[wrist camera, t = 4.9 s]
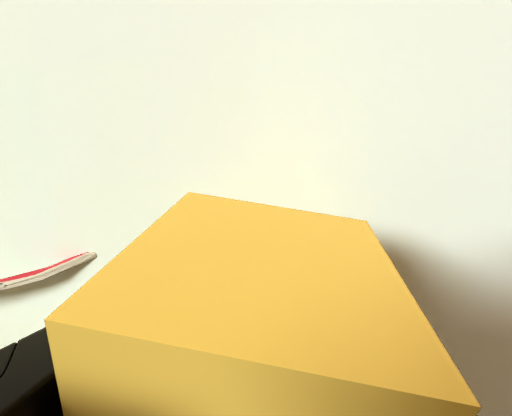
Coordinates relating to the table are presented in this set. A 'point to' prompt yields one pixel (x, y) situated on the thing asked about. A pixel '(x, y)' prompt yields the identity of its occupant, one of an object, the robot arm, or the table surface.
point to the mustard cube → (251, 323)
